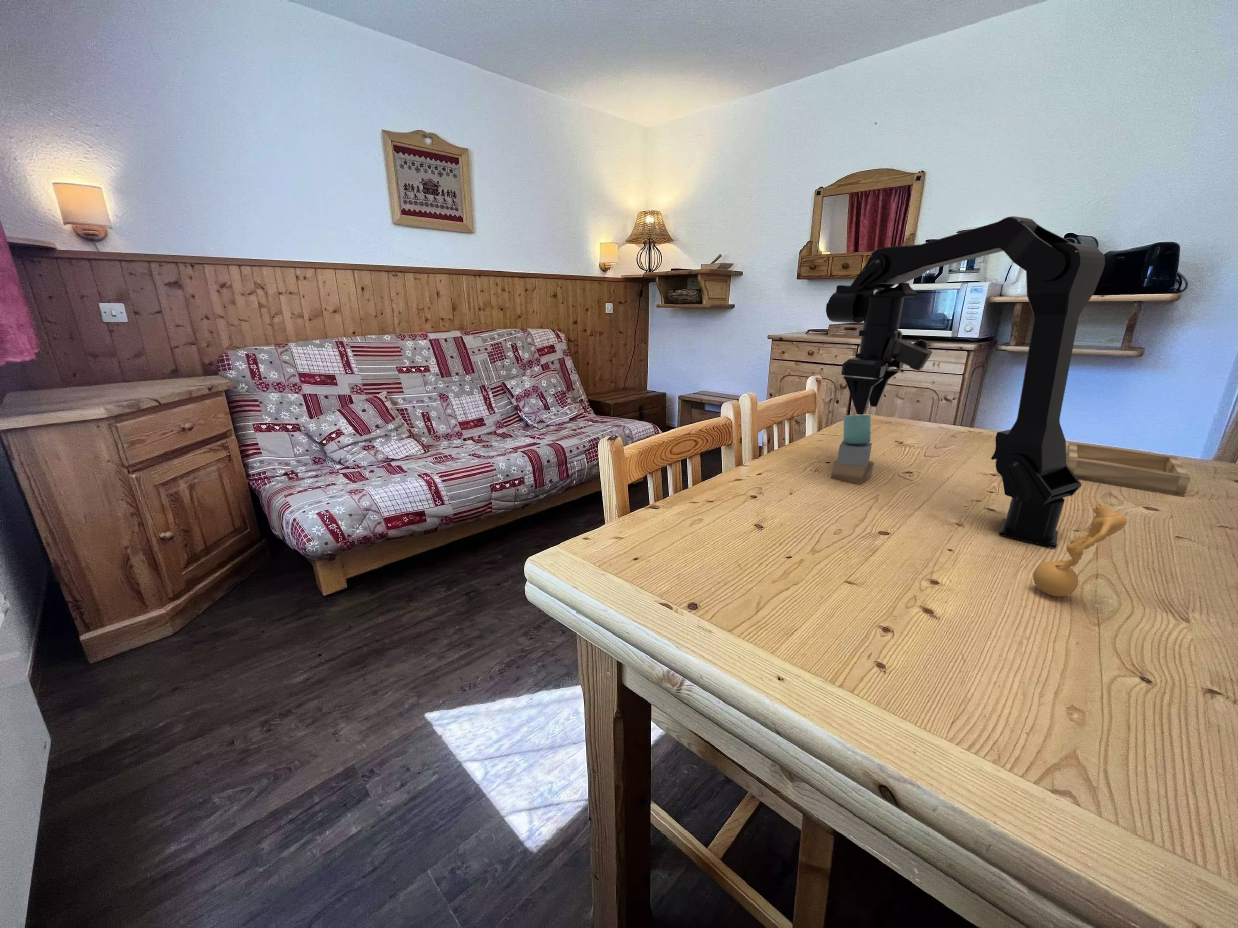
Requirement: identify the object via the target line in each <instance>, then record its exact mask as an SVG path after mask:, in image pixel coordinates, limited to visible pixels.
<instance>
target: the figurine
mask: <svg viewBox="0 0 1238 928" xmlns="http://www.w3.org/2000/svg"><path fill="white" fill-rule="evenodd" d="M1092 512H1094V513H1095V516H1094V517H1093V519H1092V521H1091V525H1090V527H1088V528H1087V530H1086V531H1085V533H1087V534H1086V535H1085V534H1084V535H1082V536H1080V537H1077V538H1074V539H1072V540H1070V542H1069V544H1067V545H1066V552H1067V553H1068V554H1069V556H1070V559H1067V560H1063V559H1060V560H1058V561H1051V560H1050V561H1045V562H1043V563H1040V564H1038V566H1036V567H1035V569H1034V571H1033V574H1032V580H1033V583H1034V585H1035V586H1036V587H1037V588H1038V589H1039V590H1040V591H1041V592H1042V593H1044V594H1046V595H1049V596H1053V597H1066V596H1070V595H1071V594H1073V593H1074V592H1075V591H1076V590H1077V589H1078V586H1079V576H1078V574H1077V573H1076V571H1075V570H1074V569H1073V568H1072V567H1074V566H1076V565H1078V564H1079V562H1080V560H1081V559H1082V556H1084V555H1083V554H1084V553H1083V550H1088V549H1090V548H1092V547H1094V545H1096V544H1097V543H1099V542H1102V541H1105V540H1106V539H1107V537H1110V536H1112V535H1115V534H1117V533H1118V532H1119V531H1121V530H1122V529H1124V528H1125V526H1126V525H1127V523H1128V519H1127V517H1126V516H1125V515H1124V514H1122V513H1120V512H1117V511H1115V510H1112V509H1110V507H1108V506H1107V505H1105V504H1104V503H1098V504H1095V506H1094V507H1093V508H1092Z"/></svg>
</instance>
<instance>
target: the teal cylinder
mask: <svg viewBox="0 0 1238 928" xmlns="http://www.w3.org/2000/svg"><path fill="white" fill-rule="evenodd" d="M871 416H872V415H871V414H863V415H860V414H846V415H843V440H844V443H849V444H861V443H872V442H871V441H872V440H871V438H872V437H871V434H872V432H871V428H872V427H871V426H872V424H871V422H872V421H871V419H872V417H871Z"/></svg>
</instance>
